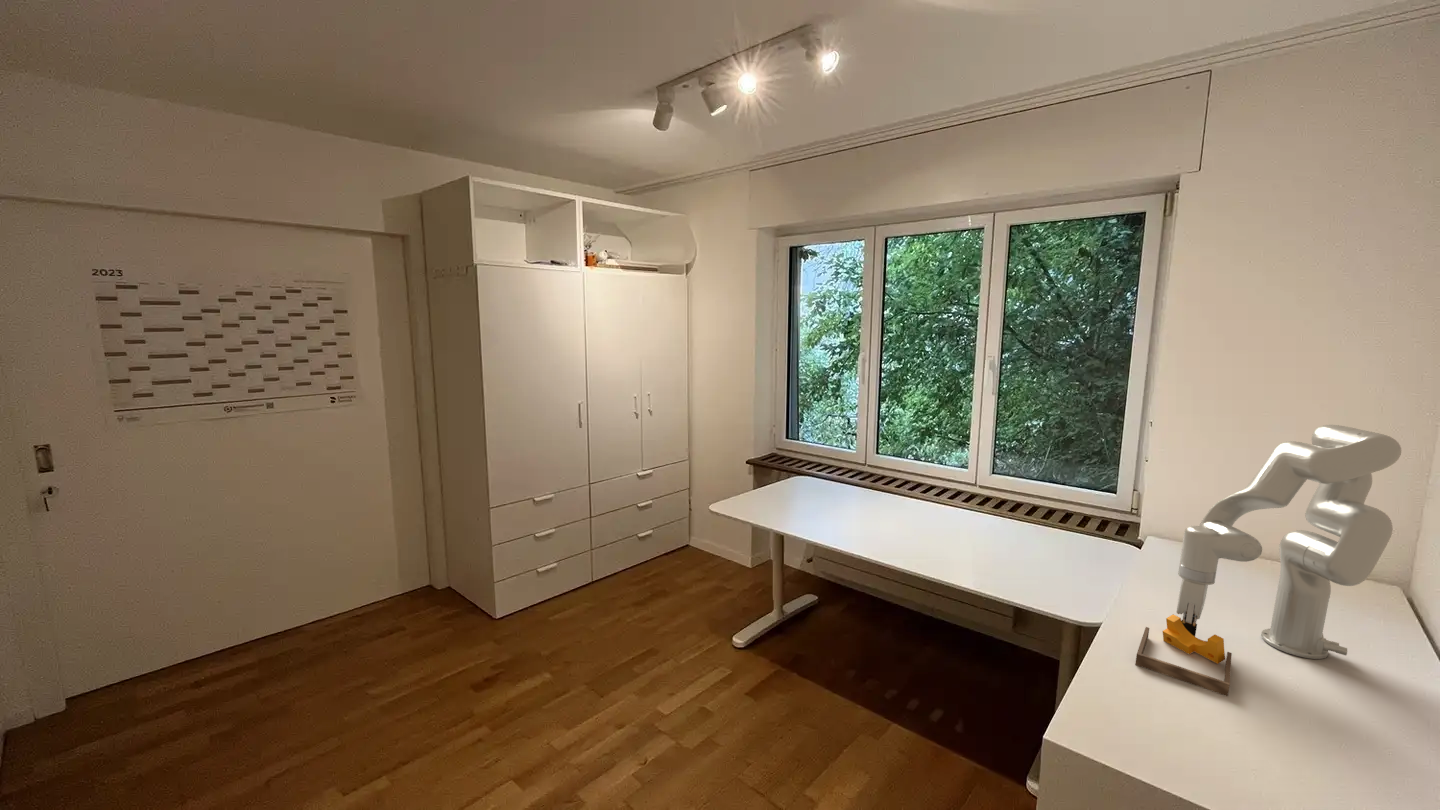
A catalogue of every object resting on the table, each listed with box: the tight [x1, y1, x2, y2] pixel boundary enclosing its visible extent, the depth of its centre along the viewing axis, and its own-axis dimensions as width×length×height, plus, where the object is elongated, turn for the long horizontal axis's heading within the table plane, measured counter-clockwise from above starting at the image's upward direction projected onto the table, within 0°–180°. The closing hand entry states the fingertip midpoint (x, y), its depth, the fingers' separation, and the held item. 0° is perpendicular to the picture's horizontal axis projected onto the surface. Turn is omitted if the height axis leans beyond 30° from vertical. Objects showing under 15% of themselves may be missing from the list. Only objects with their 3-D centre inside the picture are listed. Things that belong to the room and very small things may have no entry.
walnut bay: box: [1134, 626, 1233, 697], centre depth 143 cm, size 18×17×3 cm
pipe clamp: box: [1162, 614, 1226, 664], centre depth 148 cm, size 12×4×6 cm, turn 18°
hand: (1187, 636), depth 153 cm, fingers closed
